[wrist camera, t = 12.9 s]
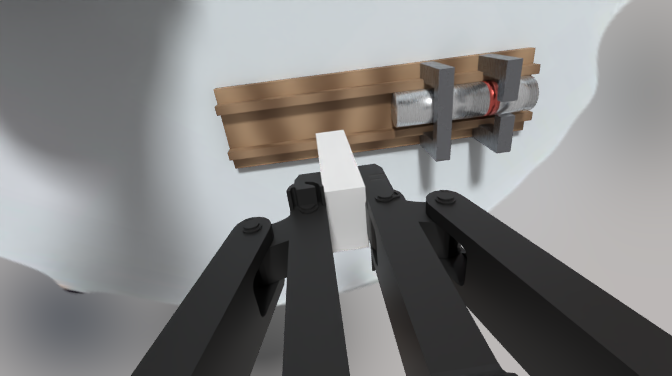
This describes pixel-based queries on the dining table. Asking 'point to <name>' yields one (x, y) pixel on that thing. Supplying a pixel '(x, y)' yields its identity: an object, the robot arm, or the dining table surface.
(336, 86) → the cradle
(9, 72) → the dining table surface
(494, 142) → the collars
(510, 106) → the tube
